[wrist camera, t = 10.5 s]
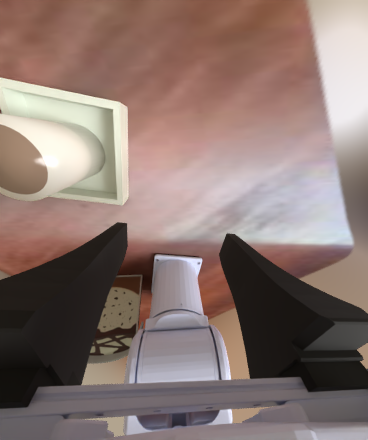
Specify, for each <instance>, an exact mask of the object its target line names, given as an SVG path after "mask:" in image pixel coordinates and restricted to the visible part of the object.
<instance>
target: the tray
mask: <svg viewBox="0 0 368 440" xmlns="http://www.w3.org/2000/svg"><path fill="white" fill-rule="evenodd" d="M0 109H1V112H2V114H6V115H13V116H20V117H27V118H35V119H42V120H49V121H57V122H64V123H71V124H78V125H81V126H83V127H85V128H87V129H89V130H90V131H91V132H93V133H94V134H95V135H96V136H97V138H98V139H99V140H100V142H101V144H102V146H103V148H104V151H105V164H104V167H103V168H102V170H101V171H100V172H99V173H97V174H95V175H93V176H91V177H89V178H87V179H85V180H82V181H80V182H78V183H76V184H74V185H72V186H69V187H67V188H65V189H63V190H61V191H59V192H56V193H54V194H52V195H50V196H48V197H56V198H65V199H73V200H82V201H90V202H99V203H107V204H115V205H124V203H125V202H126V200H127V199H128V198H129V192H128V107H126V106H125V105H123V104H122V103H120V102H116V101H111V100H106V99H101V98H97V97H92V96H87V95H82V94H77V93H72V92H67V91H63V90H58V89H53V88H48V87H43V86H38V85H33V84H29V83H24V82H19V81H14V80H9V79H4V78H0Z"/></svg>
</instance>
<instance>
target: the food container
mask: <svg viewBox="0 0 368 440" xmlns="http://www.w3.org/2000/svg"><path fill="white" fill-rule="evenodd" d="M142 280H143V275H123V276H116V278H115V280H114V283H113V285H112V287H111V289H110V292H109V294H108V297H107V300H106V303H105V306H104V309H103V312H102V315H101V319H100V322H99V325H98V328H97V331H96V335H95V338H94V341H93V345H92V348H91V352H90V355H89V359H88V362H87V363H106V362H111V361H115V360H119V359H121V358H124V357H126V356H127V355H128V353H129V349H130V345H131V342H132V340H133V338H134V336H135V335H136V334H137V332H138V326H139V315H140V303H141V292H142ZM140 329H143V322H142V323H141V326H140ZM140 329H139V330H140Z"/></svg>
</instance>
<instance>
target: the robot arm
mask: <svg viewBox="0 0 368 440" xmlns="http://www.w3.org/2000/svg"><path fill="white" fill-rule="evenodd" d="M127 247H128V245H127V223H119V222H117V223H116V224H114V225H113V226H111V227H110V228H109V229H107V230H106V231H104V232H103V233H101V234H100V235H98V236H97V237H95V238H94V239H92V240H90V241H89V242H87V243H85V244H84V245H82V246H80V247H78V248H77V249H75V250H73V251H71V252H69V253H67V254H65V255H63V256H61V257H59V258H56V259H54V260H52V261H49V262H47V263H45V264H42V265H40V266H38V267H35V268H33V269H30V270H27V271H25V272H22V273H19V274H16V275H13V276H11V277H8V278H5V279H2V280H0V440H368V369H366V368H365V367H364V366H363V365H362V363H361V362H360V361H362V360H363V357H362V355H360V353H359V352H358V351H357V349H358V348H360V347H362V346H363V345H365V344H366V343H368V314H367V313H366V312H365V311H364V310H362V309H361V308H359V307H357V306H354V305H352V304H350V303H347V302H345V301H343V300H340V299H338V298H336V297H333V296H331V295H329V294H327V293H325V292H323V291H321V290H319V289H316V288H314V287H313V286H311V285H309V284H307V283H305V282H303V281H301V280H299V279H298V278H296V277H294V276H292V275H291V274H289V273H287V272H286V271H284V270H282V269H281V268H279V267H278V266H276V265H275V264H273V263H272V262H270V261H269V260H268V259H266V258H265V257H263V256H262V255H261V254H259V253H258V252H257V251H256V250H254V249H253V248H252V247H250V246H249V245H248V244H247V243H246V242H244V241H243V240H242V239H240V238H239V237H238V236H236V235H235V234H226V237H225V240H224V242H223V245H222V248H221V250H220V253H219V256H220V261H221V265H222V268H223V271H224V274H225V277H226V279H227V282H228V285H229V288H230V290H231V293H232V296H233V299H234V302H235V306H236V310H237V314H238V318H239V322H240V326H241V331H242V336H243V341H244V345H245V351H246V357H247V363H248V368H249V374H250V379H237V380H236V379H235V380H231V376H230V368H229V362H228V356H227V352H226V348H225V344H224V341H223V338H222V335H221V333H220V332H219V331H218V329H217V328H216V327H215V326H214V325H209V324H208V318H207V316H204V315H203V309H202V303H201V297H200V291H199V286H198V280H197V277H198V274H199V270H200V267H201V264H202V258H198V257H186V256H173V255H161V254H156V255H155V257H154V268H153V279H152V289H151V292H152V293H153V295H152V303H151V311H150V318H149V319H146V325H145V329H140V330H139V331H138V332H137V334H136V335H135V336H134V338H133V340H132V342H131V345H130V349H129V353H128V358H127V364H126V371H125V380H124V384H103V385H81V384H82V380H83V377H84V373H85V369H86V366H87V362H88V359H89V355H90V352H91V348H92V345H93V341H94V338H95V335H96V331H97V328H98V325H99V322H100V319H101V315H102V312H103V309H104V306H105V303H106V300H107V297H108V294H109V292H110V289H111V287H112V285H113V283H114V280H115V278H116V276H117V274H118V271H119V269H120V267H121V265H122V262H123V260H124V257H125V254H126V250H127ZM156 259H158V260H156ZM198 262H199V263H198ZM272 406H275V407H272ZM256 407H270V408H266V409H261V410H260V411H259V413H258V414H257V415H255V416H253V417H252V418H249V419H247V420H245V421H243V422H242V423H232V410H231V409H240V408H241V409H242V408H256ZM121 416H124V429H123V431H124V434H125V436H118V437H114V434H113V432H111V431H109V430H107V427H108V423H107V421H98V420H83V419H90V418H105V417H121Z"/></svg>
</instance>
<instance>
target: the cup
mask: <svg viewBox="0 0 368 440" xmlns="http://www.w3.org/2000/svg"><path fill="white" fill-rule="evenodd" d="M104 164H105V151H104V148H103V146H102V144H101V142H100V140H99V139H98V138H97V136H96V135H95V134H94V133H93V132H91V131H90V130H89V129H87V128H85V127H83V126H81V125H78V124H71V123H64V122H57V121H49V120H42V119H35V118H27V117H20V116H13V115H6V114H0V193H1V194H3V195H5V196H8V197H10V198H13V199H17V200H22V201H37V200H41V199H43V198H46V197H48V196H50V195H52V194H54V193H56V192H59V191H61V190H63V189H65V188H67V187H69V186H72V185H74V184H76V183H78V182H80V181H82V180H85V179H87V178H89V177H91V176H93V175H95V174H97V173H99V172H100V171H101V170H102V168H103V167H104Z"/></svg>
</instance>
